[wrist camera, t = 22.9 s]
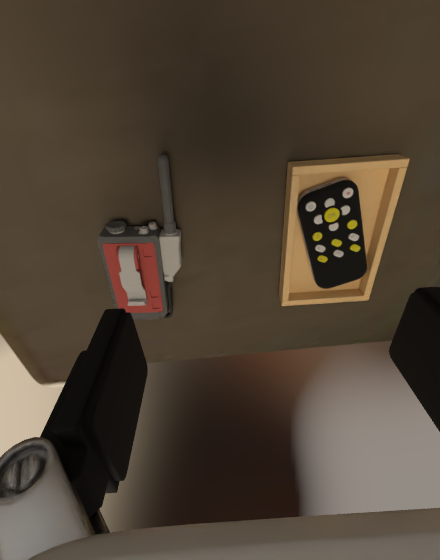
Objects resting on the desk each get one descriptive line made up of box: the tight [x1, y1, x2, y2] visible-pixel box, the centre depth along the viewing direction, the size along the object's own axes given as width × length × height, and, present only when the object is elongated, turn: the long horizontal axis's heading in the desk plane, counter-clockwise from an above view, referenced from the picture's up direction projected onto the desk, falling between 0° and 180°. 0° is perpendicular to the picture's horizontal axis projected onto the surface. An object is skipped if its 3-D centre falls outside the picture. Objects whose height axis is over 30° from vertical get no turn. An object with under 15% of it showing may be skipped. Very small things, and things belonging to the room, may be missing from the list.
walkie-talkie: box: [97, 155, 182, 319], centre depth 32 cm, size 9×4×20 cm
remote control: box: [297, 178, 367, 289], centre depth 33 cm, size 6×13×2 cm, turn 21°
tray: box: [279, 154, 409, 306], centre depth 33 cm, size 17×11×2 cm, turn 3°
